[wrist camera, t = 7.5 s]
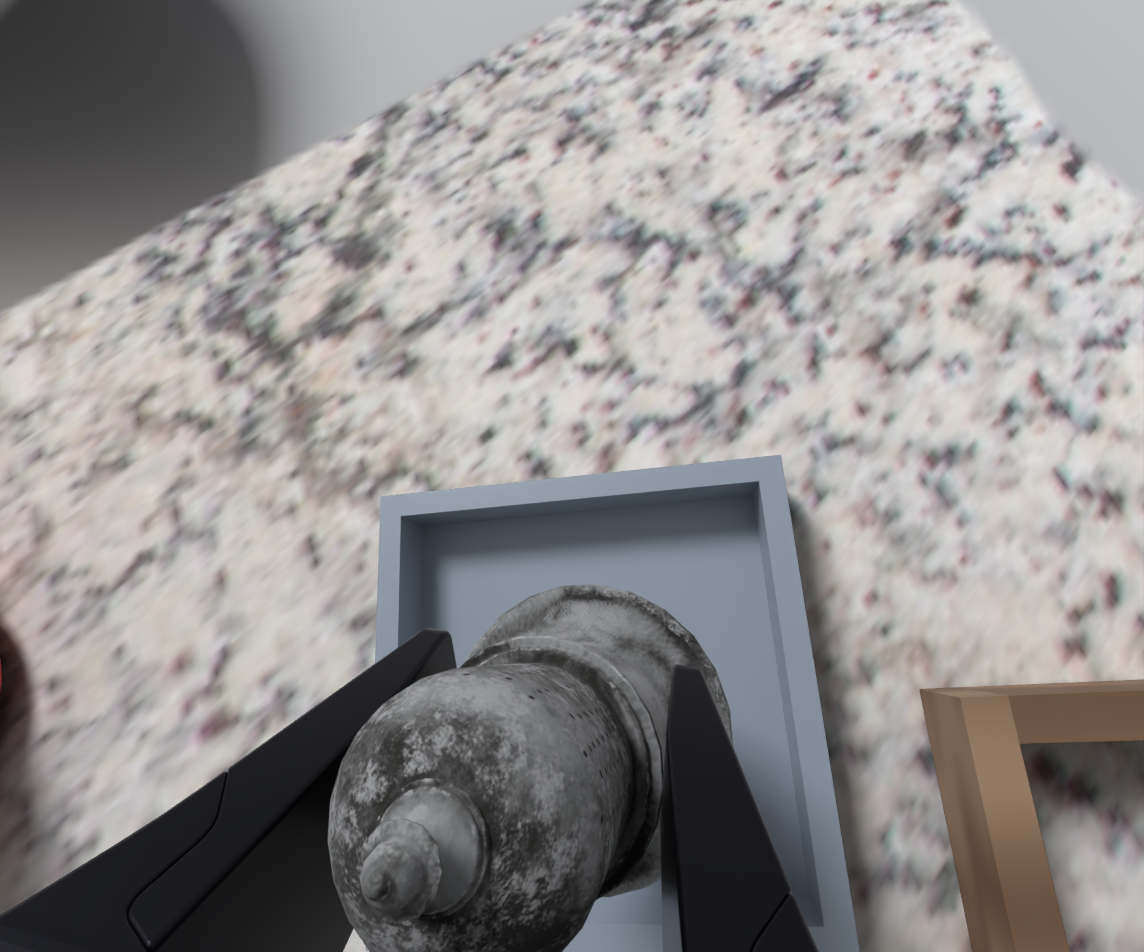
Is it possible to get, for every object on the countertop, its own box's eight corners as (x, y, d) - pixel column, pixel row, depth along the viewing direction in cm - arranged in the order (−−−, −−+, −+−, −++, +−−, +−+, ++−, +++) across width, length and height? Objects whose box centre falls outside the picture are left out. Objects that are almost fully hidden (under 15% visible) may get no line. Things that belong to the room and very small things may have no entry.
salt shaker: (621, 552, 17) (460, 347, 5) (776, 734, 15) (1056, 1038, 3) (457, 692, 16) (-73, 792, 5) (592, 895, 14) (221, 1795, 3)
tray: (838, 921, 18) (861, 963, 16) (403, 914, 20) (365, 950, 18) (770, 474, 22) (780, 455, 20) (410, 510, 24) (380, 496, 22)
